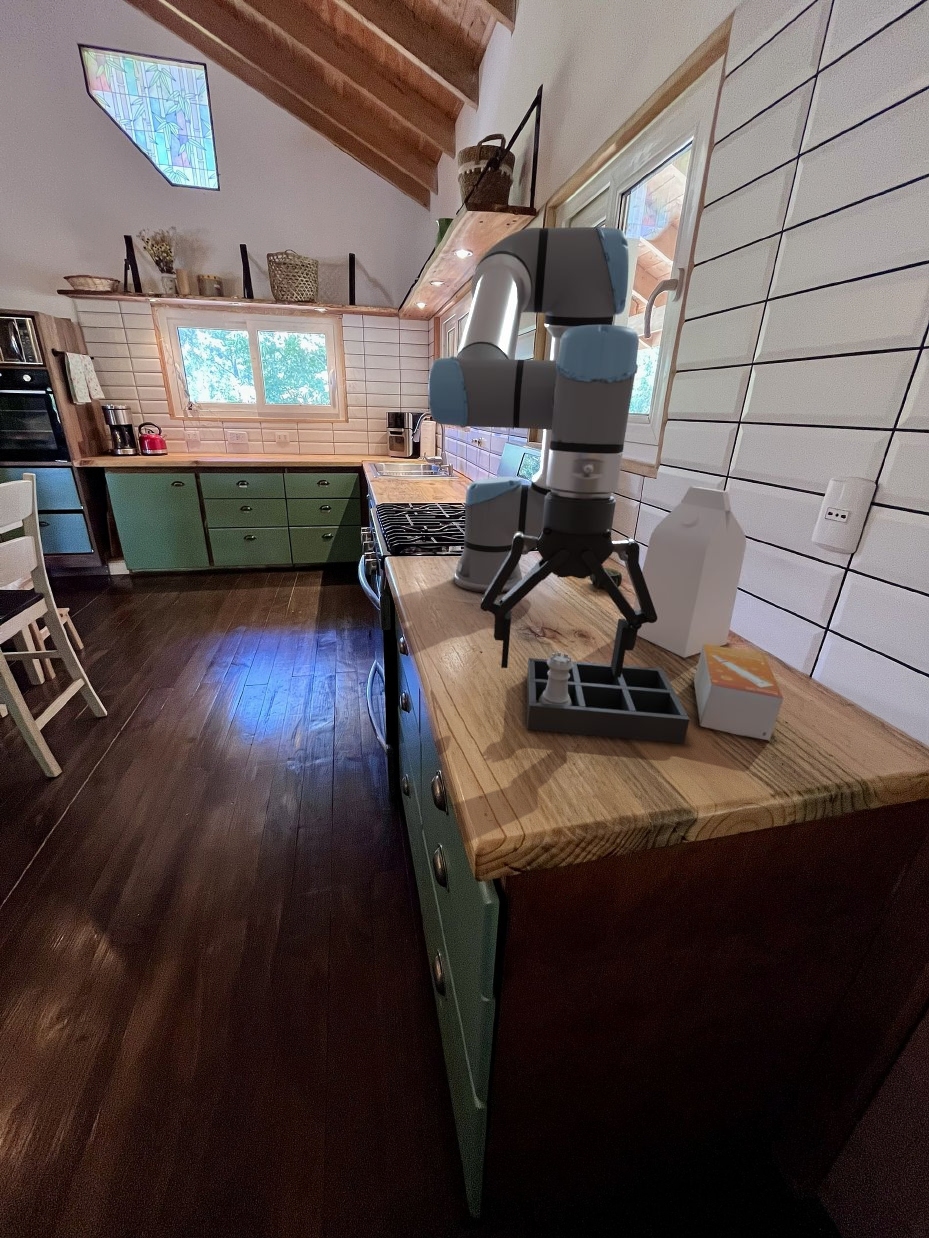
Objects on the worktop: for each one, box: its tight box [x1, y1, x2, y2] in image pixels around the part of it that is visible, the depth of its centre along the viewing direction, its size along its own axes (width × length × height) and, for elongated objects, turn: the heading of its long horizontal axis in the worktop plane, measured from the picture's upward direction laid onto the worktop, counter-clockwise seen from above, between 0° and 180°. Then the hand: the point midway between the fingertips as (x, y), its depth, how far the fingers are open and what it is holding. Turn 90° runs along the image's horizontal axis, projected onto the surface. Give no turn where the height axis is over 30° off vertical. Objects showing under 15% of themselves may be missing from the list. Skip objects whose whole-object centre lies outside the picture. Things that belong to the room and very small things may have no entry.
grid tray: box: [526, 657, 690, 745], centre depth 66 cm, size 13×19×4 cm
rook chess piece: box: [538, 651, 573, 706], centre depth 62 cm, size 4×4×8 cm
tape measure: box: [588, 567, 623, 589], centre depth 113 cm, size 7×7×4 cm
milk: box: [632, 485, 747, 659], centre depth 84 cm, size 12×12×26 cm
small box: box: [693, 644, 784, 741], centre depth 66 cm, size 8×6×13 cm
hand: (559, 667), depth 62 cm, fingers open, 13 cm apart
